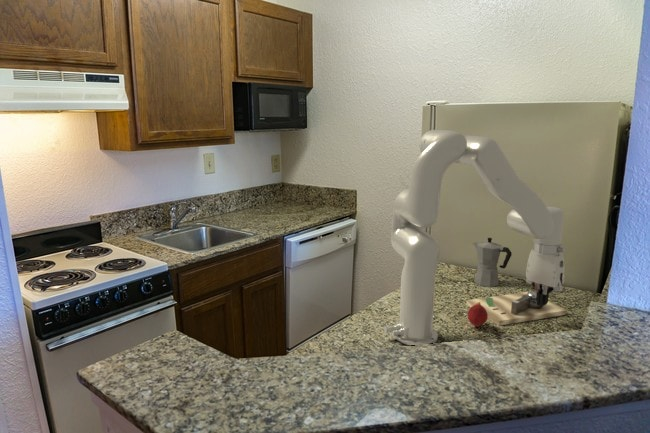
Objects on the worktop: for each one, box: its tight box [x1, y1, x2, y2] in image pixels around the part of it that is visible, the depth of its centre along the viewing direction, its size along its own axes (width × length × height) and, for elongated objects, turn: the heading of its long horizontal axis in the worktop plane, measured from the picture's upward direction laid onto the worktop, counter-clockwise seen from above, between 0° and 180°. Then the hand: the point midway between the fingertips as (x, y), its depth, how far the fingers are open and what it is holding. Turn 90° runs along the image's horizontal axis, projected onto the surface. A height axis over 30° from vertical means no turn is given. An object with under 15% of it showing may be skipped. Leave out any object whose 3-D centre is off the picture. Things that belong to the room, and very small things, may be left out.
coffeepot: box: [472, 237, 513, 288], centre depth 176 cm, size 15×9×18 cm, turn 43°
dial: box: [511, 290, 543, 315], centre depth 151 cm, size 15×6×4 cm, turn 128°
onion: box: [467, 302, 488, 328], centre depth 141 cm, size 6×6×8 cm
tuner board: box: [466, 291, 568, 326], centre depth 155 cm, size 26×17×2 cm, turn 108°
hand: (541, 304), depth 144 cm, fingers closed
